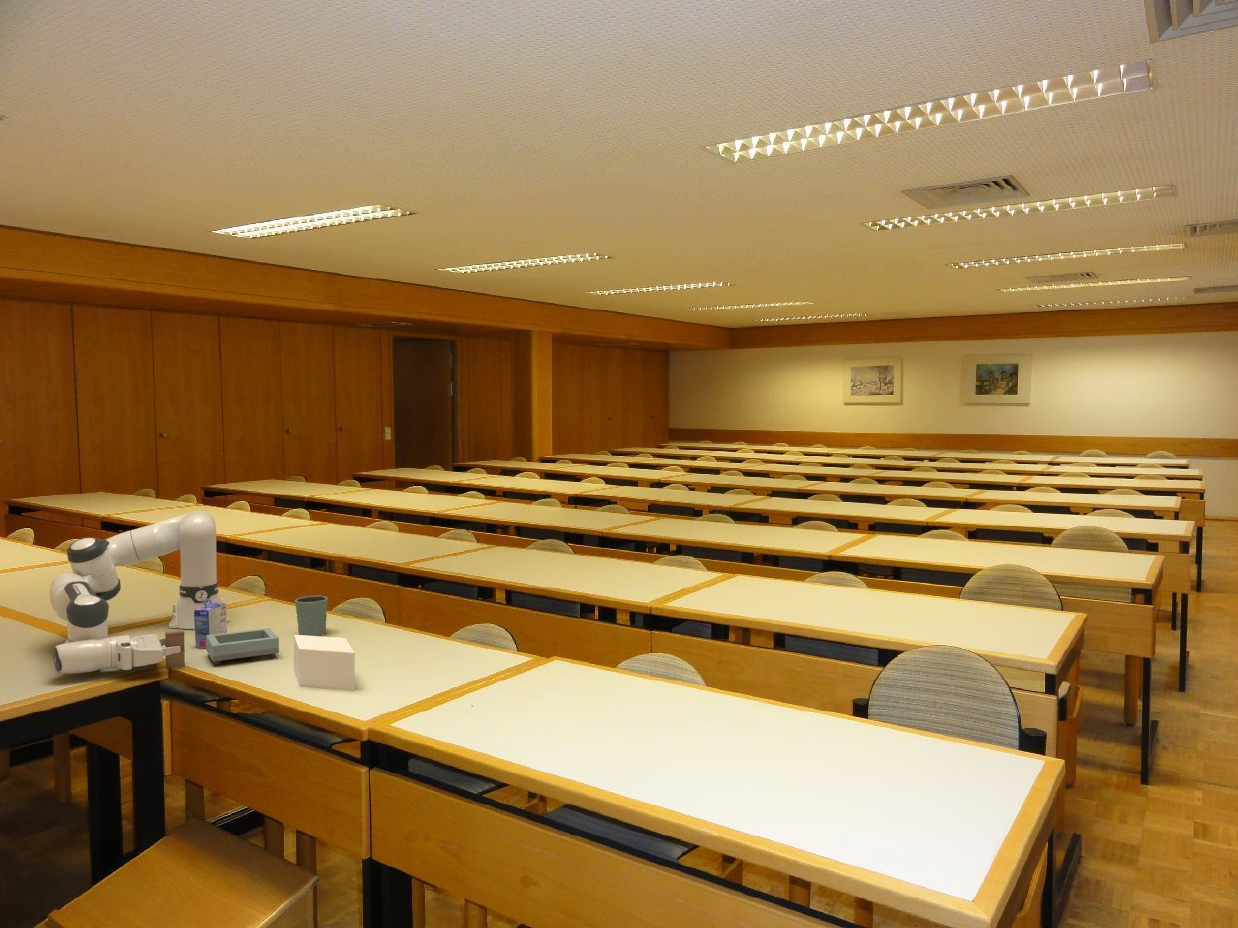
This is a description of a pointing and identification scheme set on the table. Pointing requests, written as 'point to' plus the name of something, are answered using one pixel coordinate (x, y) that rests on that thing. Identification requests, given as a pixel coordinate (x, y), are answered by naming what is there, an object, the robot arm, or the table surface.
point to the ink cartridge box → (209, 621)
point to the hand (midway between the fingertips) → (178, 644)
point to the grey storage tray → (242, 644)
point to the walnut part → (173, 640)
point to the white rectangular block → (324, 662)
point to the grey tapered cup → (311, 615)
